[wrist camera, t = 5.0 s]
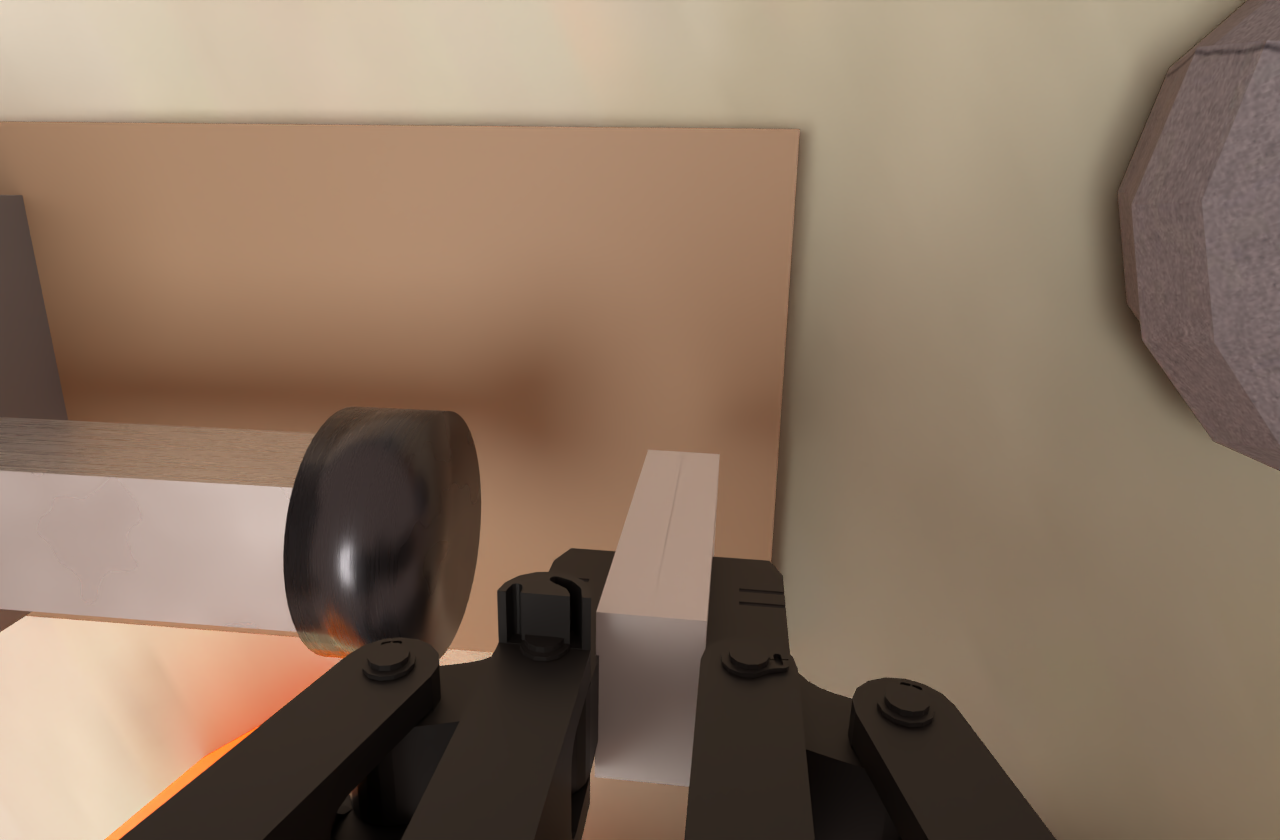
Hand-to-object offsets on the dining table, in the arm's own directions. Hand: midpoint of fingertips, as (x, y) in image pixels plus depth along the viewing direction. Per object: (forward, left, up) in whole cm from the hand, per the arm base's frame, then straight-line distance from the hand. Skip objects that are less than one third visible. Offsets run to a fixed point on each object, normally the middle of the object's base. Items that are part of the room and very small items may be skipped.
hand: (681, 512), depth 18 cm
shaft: (+14, 0, -1) cm, 14 cm away
